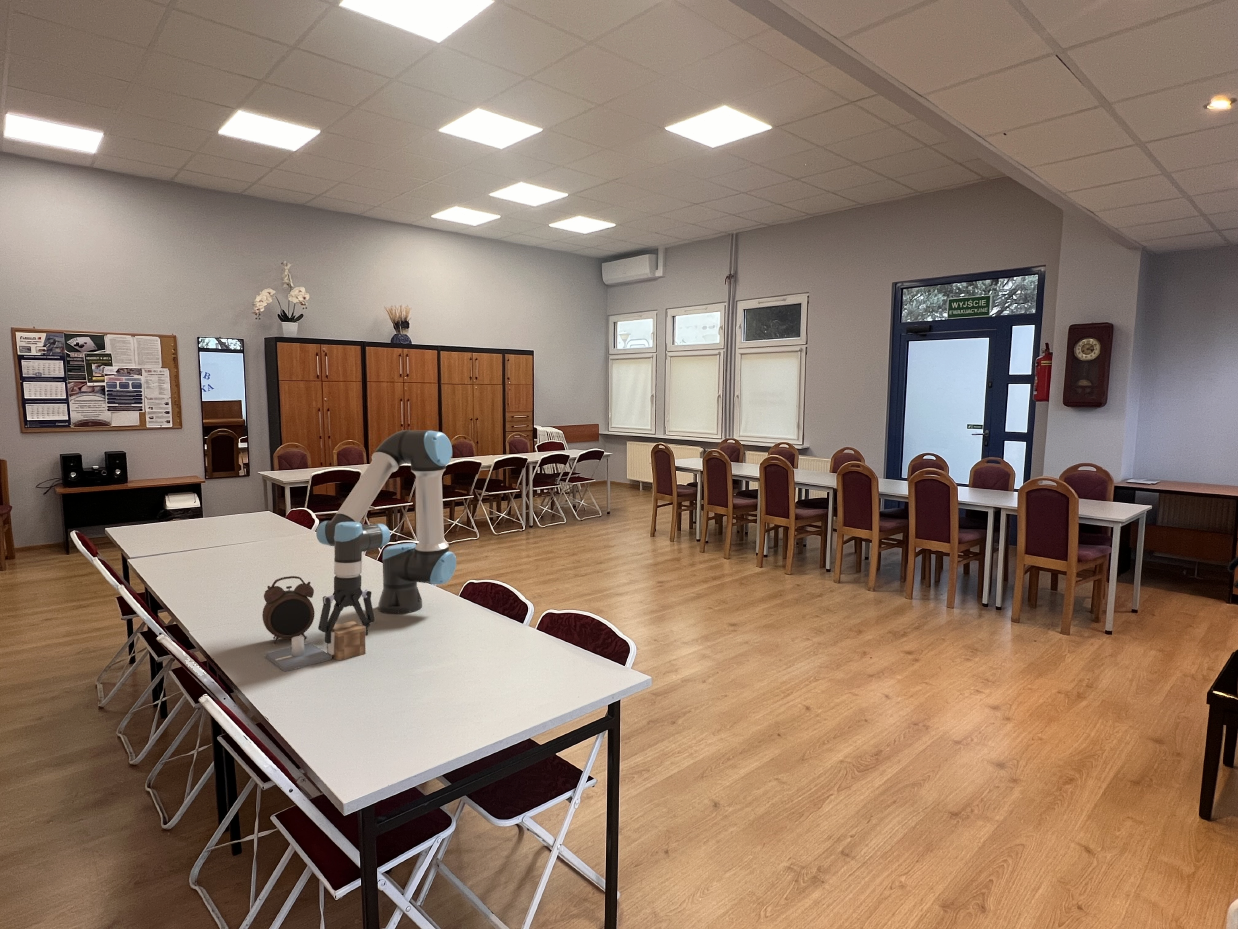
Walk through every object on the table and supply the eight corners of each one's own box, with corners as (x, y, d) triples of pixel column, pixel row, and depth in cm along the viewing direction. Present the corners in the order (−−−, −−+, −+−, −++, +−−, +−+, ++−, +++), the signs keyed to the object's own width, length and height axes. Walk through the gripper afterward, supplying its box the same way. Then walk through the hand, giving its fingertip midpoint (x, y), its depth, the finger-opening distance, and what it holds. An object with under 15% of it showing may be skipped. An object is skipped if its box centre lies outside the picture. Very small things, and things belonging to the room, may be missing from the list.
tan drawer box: (353, 646, 207) (353, 620, 207) (365, 653, 202) (365, 626, 201) (327, 653, 202) (326, 626, 201) (338, 660, 196) (338, 632, 195)
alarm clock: (266, 648, 205) (264, 583, 203) (262, 641, 211) (260, 577, 209) (317, 638, 214) (316, 576, 212) (312, 632, 219) (311, 571, 218)
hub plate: (310, 645, 207) (310, 626, 207) (331, 659, 197) (331, 639, 197) (265, 656, 198) (264, 636, 198) (284, 671, 188) (284, 650, 187)
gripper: (376, 568, 211) (375, 639, 212) (305, 577, 195) (304, 654, 197) (388, 572, 205) (386, 645, 207) (316, 582, 190) (315, 661, 191)
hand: (346, 650), depth 202 cm, fingers open, 9 cm apart
